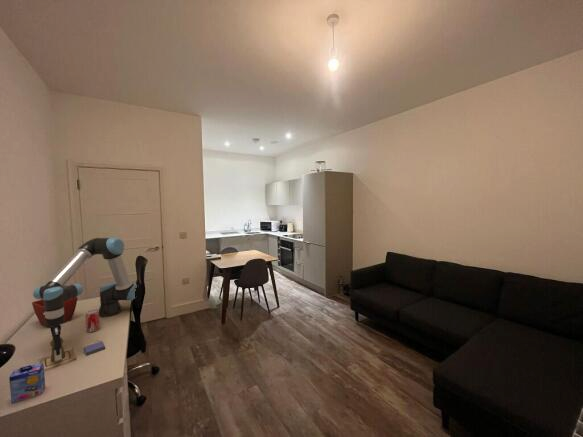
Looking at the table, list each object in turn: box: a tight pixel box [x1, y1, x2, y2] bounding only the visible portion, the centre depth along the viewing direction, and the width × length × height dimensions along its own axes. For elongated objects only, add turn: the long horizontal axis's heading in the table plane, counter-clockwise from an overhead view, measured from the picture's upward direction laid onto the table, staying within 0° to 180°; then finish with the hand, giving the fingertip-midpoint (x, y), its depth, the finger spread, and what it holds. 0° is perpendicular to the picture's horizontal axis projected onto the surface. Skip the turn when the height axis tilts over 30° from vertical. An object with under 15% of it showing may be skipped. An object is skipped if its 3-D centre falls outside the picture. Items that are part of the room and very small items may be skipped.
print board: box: [39, 347, 77, 372], centre depth 135 cm, size 14×14×1 cm
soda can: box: [85, 309, 101, 334], centre depth 166 cm, size 7×7×13 cm
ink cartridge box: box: [8, 363, 46, 404], centre depth 110 cm, size 10×6×14 cm, turn 124°
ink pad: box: [82, 340, 106, 357], centre depth 145 cm, size 9×9×2 cm
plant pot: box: [31, 296, 78, 328], centre depth 178 cm, size 19×19×17 cm
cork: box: [49, 337, 66, 362], centre depth 134 cm, size 6×6×11 cm
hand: (57, 356), depth 135 cm, fingers open, 8 cm apart
